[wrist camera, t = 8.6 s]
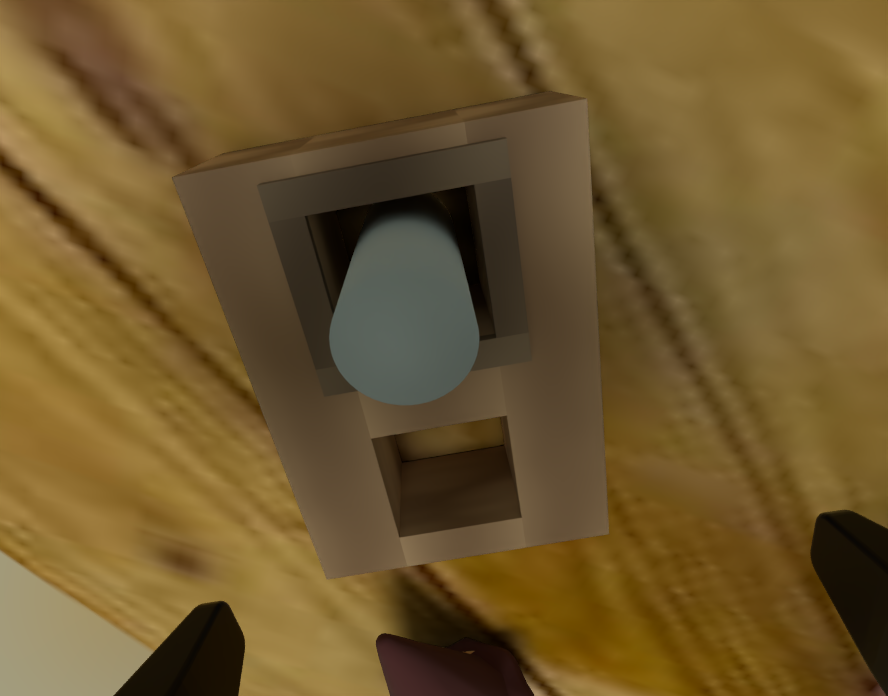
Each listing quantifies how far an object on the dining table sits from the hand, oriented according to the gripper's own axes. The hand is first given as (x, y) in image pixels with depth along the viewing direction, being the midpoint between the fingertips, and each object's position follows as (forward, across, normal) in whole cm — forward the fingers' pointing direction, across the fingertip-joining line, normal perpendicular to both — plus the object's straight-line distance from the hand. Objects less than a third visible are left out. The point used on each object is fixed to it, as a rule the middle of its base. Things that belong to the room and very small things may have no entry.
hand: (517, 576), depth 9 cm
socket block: (+12, +2, +1) cm, 12 cm away
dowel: (+12, +2, -2) cm, 12 cm away
